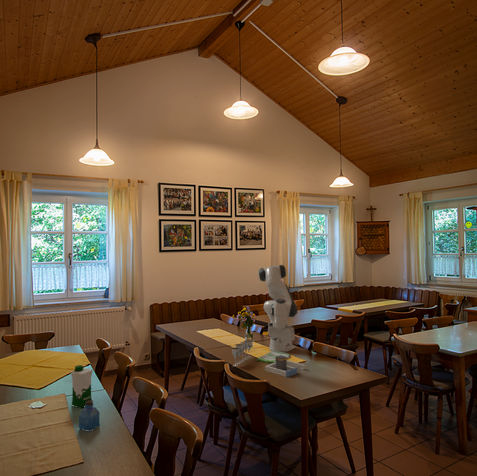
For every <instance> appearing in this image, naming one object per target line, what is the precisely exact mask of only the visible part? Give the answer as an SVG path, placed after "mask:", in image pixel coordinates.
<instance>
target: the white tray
mask: <svg viewBox="0 0 477 476" xmlns="http://www.w3.org/2000/svg"><path fill="white" fill-rule="evenodd" d="M286 367H287V371H284V370H280V369H277V368H276V362H275V363H272V364H270V363H269V364H267V365H265V366H264V371H265V372H269V373H272V374H275V375H278V376H282V377H287V378H290V377H291V376H294V375H297V374H298V369H299V370H305V368H306V367H305V364H302V363H299V362H297V361H296V362H295V361H292V360H288V359H287V360H286Z"/></svg>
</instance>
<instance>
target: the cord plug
mask: <svg viewBox="0 0 477 476" xmlns="http://www.w3.org/2000/svg"><path fill="white" fill-rule="evenodd" d="M276 368H277V369H280V370H284V371H287V367H286V356H282V355H279V356H276Z"/></svg>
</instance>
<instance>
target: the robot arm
mask: <svg viewBox="0 0 477 476" xmlns="http://www.w3.org/2000/svg"><path fill="white" fill-rule="evenodd" d="M287 274H288V273H287V268H286V267H285V265H284V264H279V265H277V264H276V265H269V266H266V267H261V268H259V269H258V271H257V276H258V279H259V280H260V282H265V283H266V286H267V291H268V295H269V297H270V298H271V300H266V301H265V302H264V304H263V311H264V312H265V313H266V314H267V316H268V318H269V320H270V322H268V324H267V325H268V327H267V334H268V336H269V337H270V338H269V339H270V341H269V346H268V348H269V350H270V352H271V351H272V350H274V351H278V352H283V353H289V352H290V351H292V350H293V349H295V348H296V346H295V345H294V344H293V341H295V338H296V334H295V328H294V326H291V325H288V321H289V320H288V318H294V317H296V315H297V314H298V306H297V303H296V302H295V301H294V298H293V295H292V293H291V290H290V289H289V286H288V284H286V283H284V282H283V280H282V279H284V278H286V277H287Z"/></svg>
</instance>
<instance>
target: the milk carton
mask: <svg viewBox="0 0 477 476" xmlns="http://www.w3.org/2000/svg"><path fill="white" fill-rule="evenodd" d="M93 371H94V370H93V369H90V368H86V367H85V368H84V365H79V364H78V365H76V366H74V370H72V371H71V372H70V374H71V375H70V376H71V378H72V379H71V380H72V388H71V389H72V397H71V406H72V405H74V406H77V407H84V406H85V404H86V401H88V400H92V374H93ZM77 407H76V408H77ZM84 408H85V407H84Z"/></svg>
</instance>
